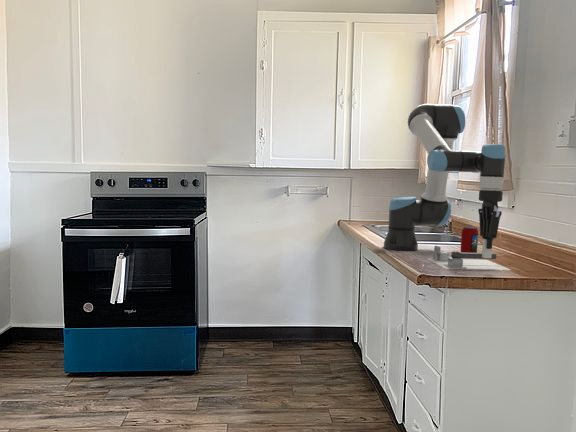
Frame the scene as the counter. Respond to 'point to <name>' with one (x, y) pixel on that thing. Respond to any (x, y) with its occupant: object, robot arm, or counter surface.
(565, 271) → the counter surface
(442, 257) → the keeper
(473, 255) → the latch bar
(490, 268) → the door board
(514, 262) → the counter surface
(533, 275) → the counter surface
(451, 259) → the grey latch pivot mount
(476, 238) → the beverage can
